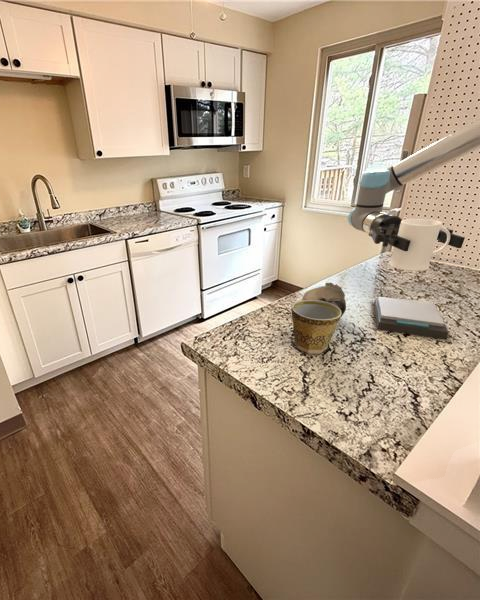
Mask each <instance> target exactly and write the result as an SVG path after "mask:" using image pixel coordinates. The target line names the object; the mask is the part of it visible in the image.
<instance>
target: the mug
mask: <svg viewBox="0 0 480 600" xmlns="http://www.w3.org/2000/svg"><path fill="white" fill-rule="evenodd" d="M447 228H448V227H445V226H443V222H442V221H441V220H437V219H430V218H405V219H402V221H401V224H400V227H399V231H398V235H397V236H399V237H402V238H405V239H407V240H410V245H409V248H408V251H403V250H400V249H398V248H396V247H394V246H393V251H392V255H391V258H390V260H389V262H388V265H389V266H390V267H392V268H394V269H398V270H402V271H410V272H423V271H427V270H429V269H430V263H431V260H432V256H435V255H438V254H439V253H441V252H442V251H443V250H445V249H446V248H447V246H449V245H448V243H449V241H450V232H449V231H448V229H447ZM440 230H443V231H444V232H445V233H446V234H447V241H446V243H445V244H444V243H443V245H442V246H441V247H440V248H438V249H436V250H435V248H436V247H435V246H436V243H437V241H438V240H437V237H438V234H439V231H440Z"/></svg>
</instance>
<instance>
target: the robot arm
mask: <svg viewBox="0 0 480 600" xmlns="http://www.w3.org/2000/svg"><path fill="white" fill-rule="evenodd" d="M479 149H480V118H479V119H477V120H475V121H473V122H471V123H470V124H467V125H466V126H464V127H462V128H460V129H458V130H456V131H454V132H453V133H450V134H449V135H447V136H445V137H444V138H442V139H439V140H438V141H436V142H434V143H432V144H430V145H429V146H427V147H425V148H423V149H421V150H419V151H417V152H416V153H414V154H412V155H410V156H408V157H406V158H404V159H403V160H401V161H399V162H398V163H396V164H394V165H392V166H390V167H388V168H386V169H372V170H366V171H364V172H363V173H362V175H361V179H360V181H359V189H358V193H357V200H356V205H355V208H353V209H351V211H350V212H349V214H348V216H347V222H348V224H349V225H350V226H351V227H352V228H354V229H355V230H358V231H361V232H362V233H363V232H364V233H366V234H367V235H368V236H369V237H371V238H372V240H373V243H374V244H376V245H379V244H381V243H382V245H381V246H382V247H384V248H385V247H386V248H387V247H388V246H389V245H390V246H391V247H393V248H394V247H396V248H398V249H400V250H403V251H408V248H409V245H410V240H407V239H405V238H402V237H399V236H397V235H398V231H399V227H400V224H401V221H402V220H403V219H402V218H401V217H400V216H397V215H394V214H391V213H388V212H384V211H383V208H384V203H385V198H386V194H389V193H391V192H392V191H394V190H396V189H398V188H401V187H402V186H404V185H406V184H408V183H411V182H412V181H414V180H416V179H418V178H420V177H422V176H425V175H427V174H429V173H431V172H433V171H435V170H437V169H439V168H441V167H443V166H445V165H447V164H449V163H451V162H453V161H456V160H458V159H461V157H464V156H466V155H468V154H471V153H472V152H474V151H476V150H479ZM446 228H447V229H448V231H449V232H450V241H449V243H448V245H447V246H450V247H453V248H456V249H462V248H463V245H464V241H465V238H466V237H465V236H461V235H459V234H455V233H454V230H453V229H450V228H449V227H446ZM436 241H438V242H439V243H442V244H443V245H444V244H445V243H446V241H447V234H446V233H445V232H444V231H443V230H440V231H439V234H438V237H437V240H436Z"/></svg>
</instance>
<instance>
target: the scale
mask: <svg viewBox="0 0 480 600" xmlns="http://www.w3.org/2000/svg"><path fill="white" fill-rule="evenodd" d="M373 309H374V310H373V311H374V315H375V323H376V328H377V330H382V331H388V332H395V333H399V334H406V335H407V334H408V335H412V336H413V335H414V336H420V337H427V338H434V339H441V340H447V339H448V336H449V334H450V331H449V330H448V327H447V326H446V324H445V321H444V320H443V318H442V316H441V314H440V311H439V310H438V307H437V306H436V304H435V302H433V301H425V300H424V301H423V300H414V299H405V298H404V299H403V298H397V297H386V296H377V297H375V298H374V301H373Z"/></svg>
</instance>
